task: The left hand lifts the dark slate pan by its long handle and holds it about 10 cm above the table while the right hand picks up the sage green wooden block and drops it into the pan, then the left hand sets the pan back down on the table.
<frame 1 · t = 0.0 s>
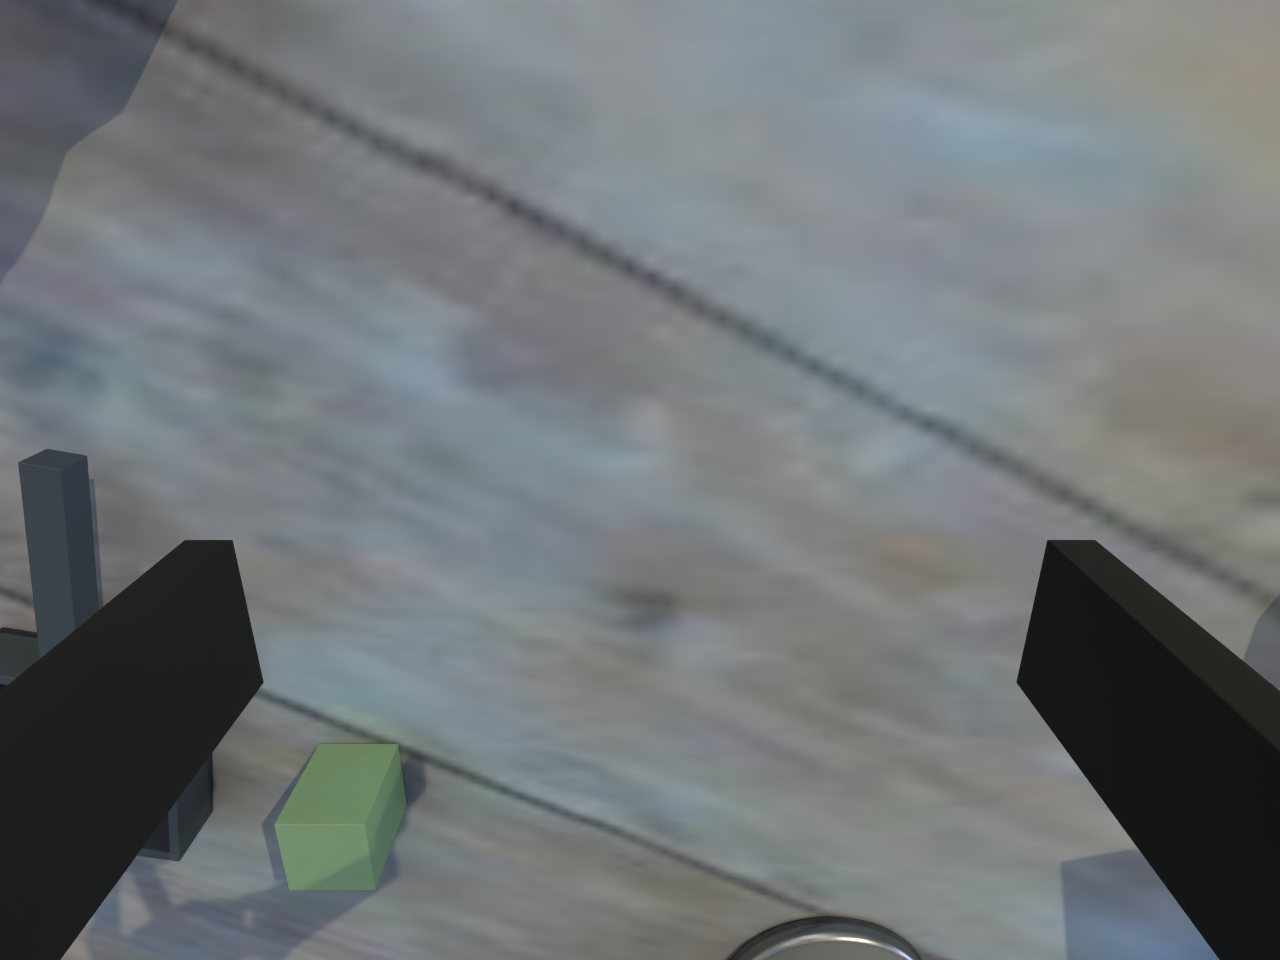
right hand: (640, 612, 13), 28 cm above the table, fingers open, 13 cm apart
block: (363, 774, 50), on the table
pan: (113, 724, 48), on the table
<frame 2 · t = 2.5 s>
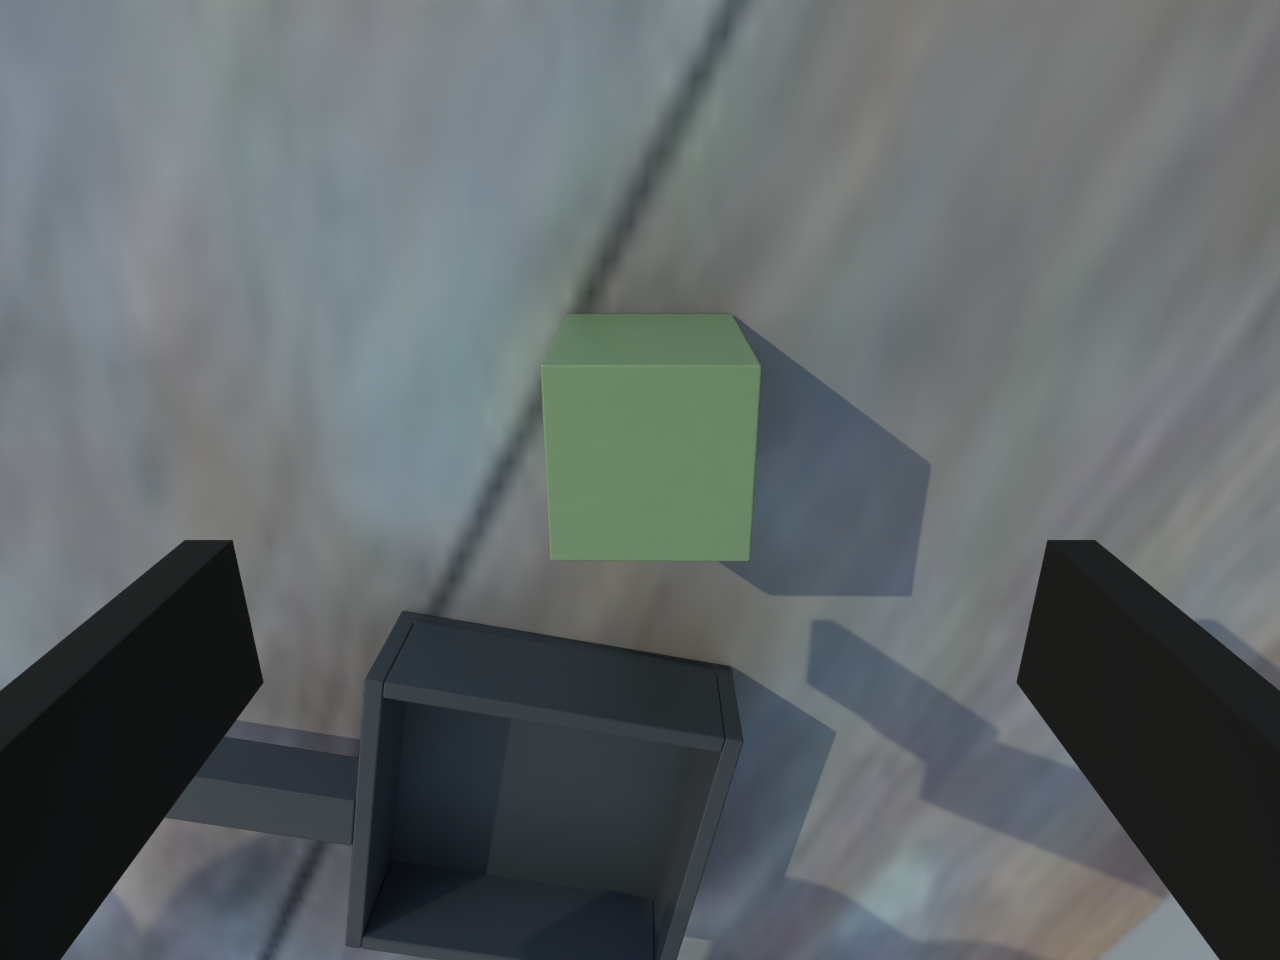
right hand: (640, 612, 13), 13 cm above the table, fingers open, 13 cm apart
block: (649, 393, 24), on the table
pan: (544, 767, 30), on the table
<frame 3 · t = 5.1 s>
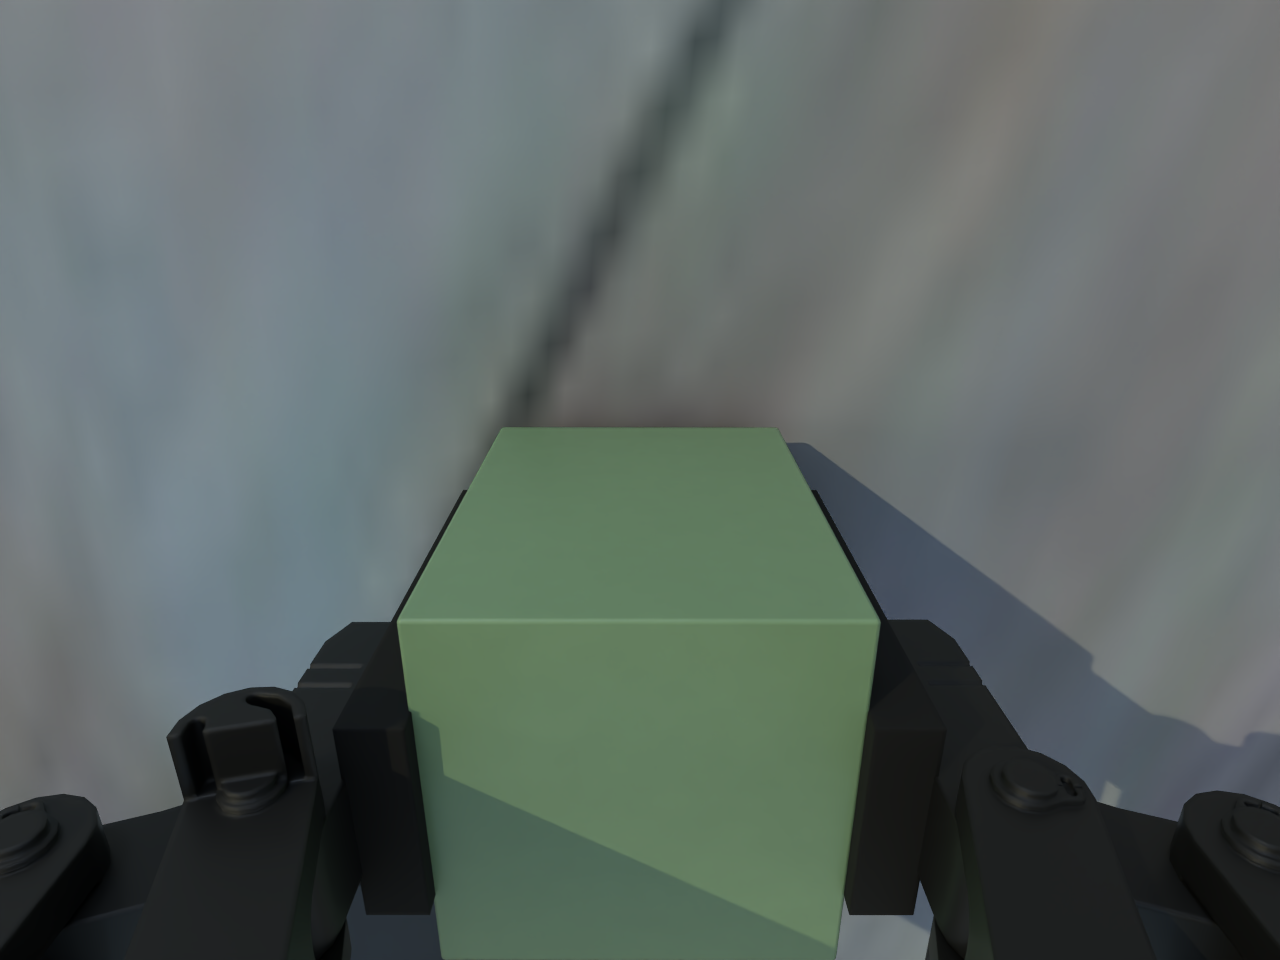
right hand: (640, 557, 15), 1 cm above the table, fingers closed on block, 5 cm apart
block: (639, 550, 15), point 1 cm above the table, touching right hand
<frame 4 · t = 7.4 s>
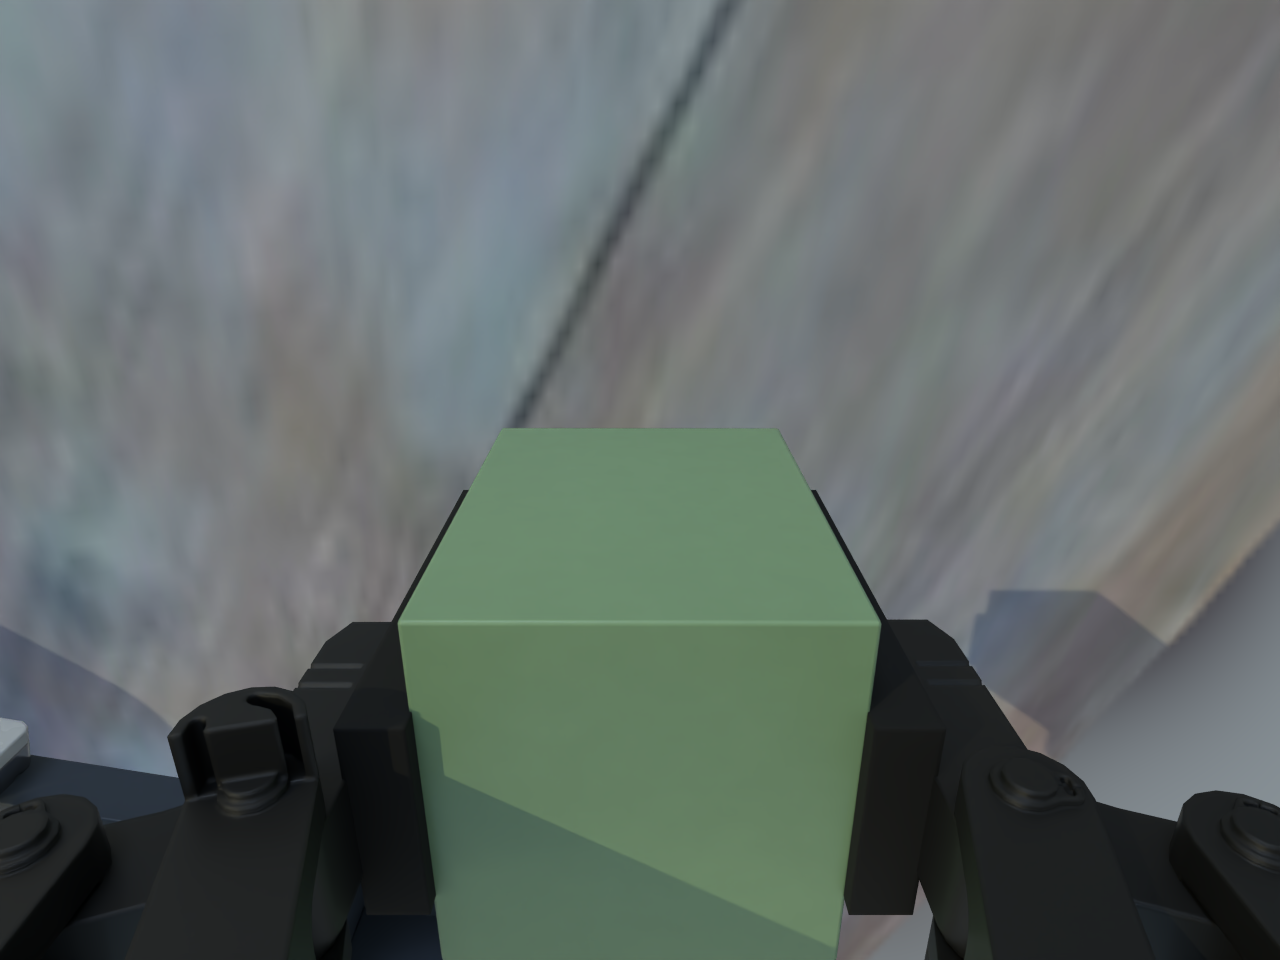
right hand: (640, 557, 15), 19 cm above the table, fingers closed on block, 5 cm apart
block: (640, 551, 15), point 18 cm above the table, touching right hand
pan: (528, 808, 28), point 10 cm above the table, touching left hand
when the right hand's fingers open (16 cm above the table, at t = 9.4 s): block drops 9 cm, resting on pan.
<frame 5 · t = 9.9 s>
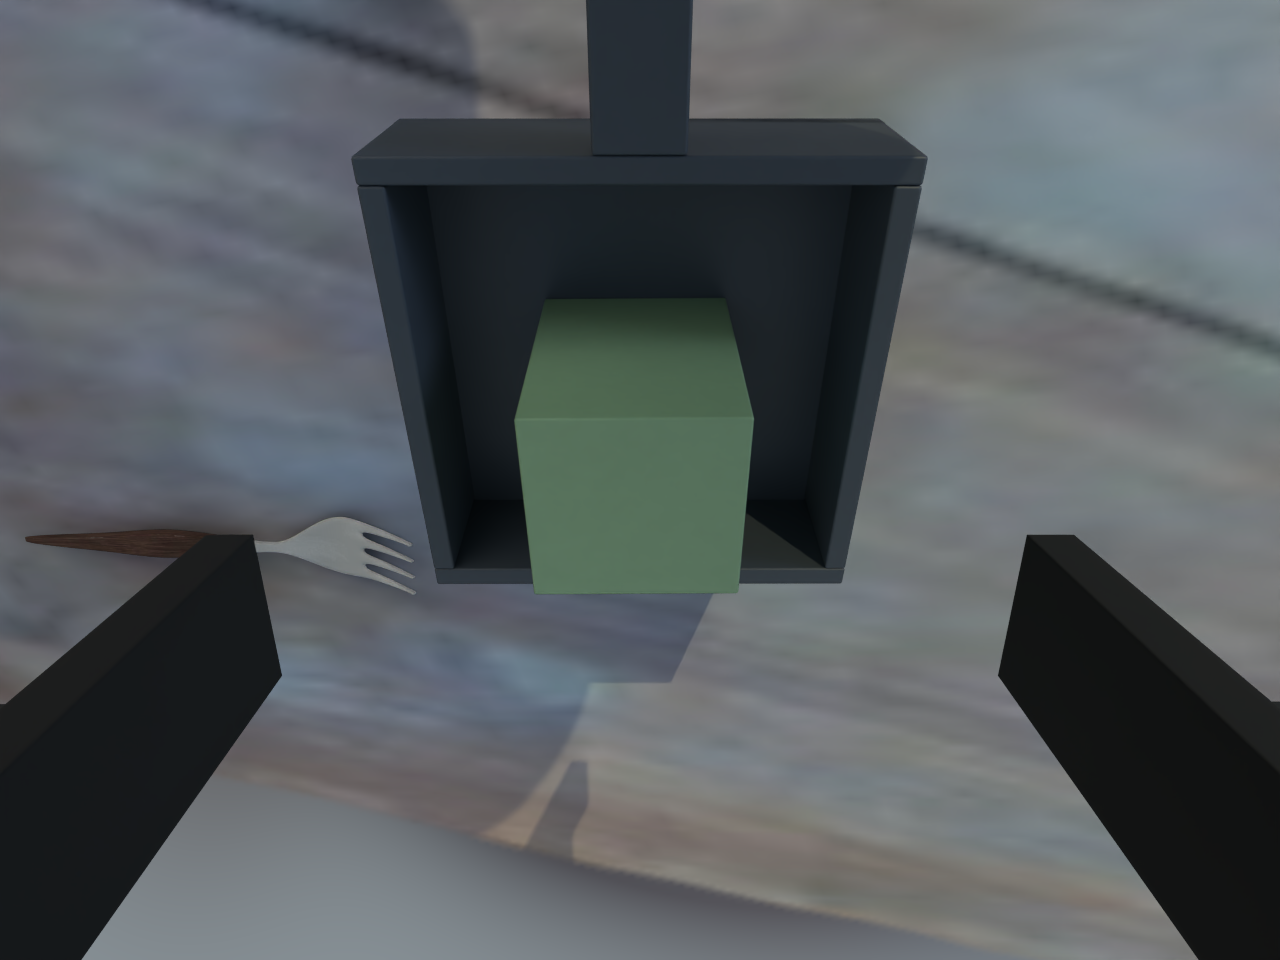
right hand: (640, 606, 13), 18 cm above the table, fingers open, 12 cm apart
block: (636, 378, 23), point 6 cm above the table, tilted 13°, touching pan
pan: (639, 340, 23), point 6 cm above the table, tilted 13°, touching block, left hand
fork: (234, 537, 32), on the table
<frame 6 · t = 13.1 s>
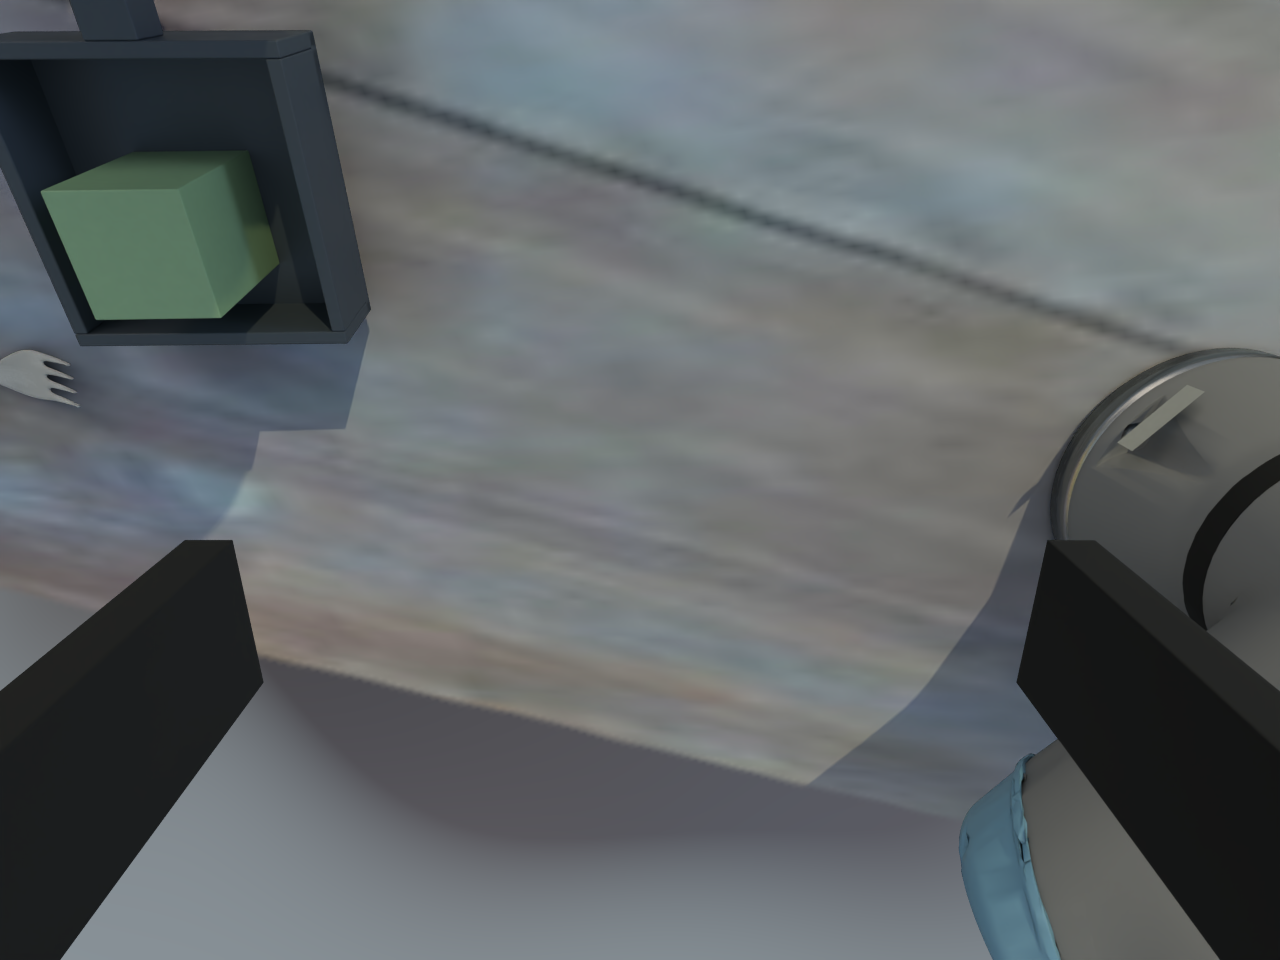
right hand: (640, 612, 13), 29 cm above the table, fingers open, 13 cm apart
block: (209, 209, 35), point 3 cm above the table, tilted 13°, touching pan
pan: (210, 184, 35), point 2 cm above the table, tilted 13°, touching block, left hand
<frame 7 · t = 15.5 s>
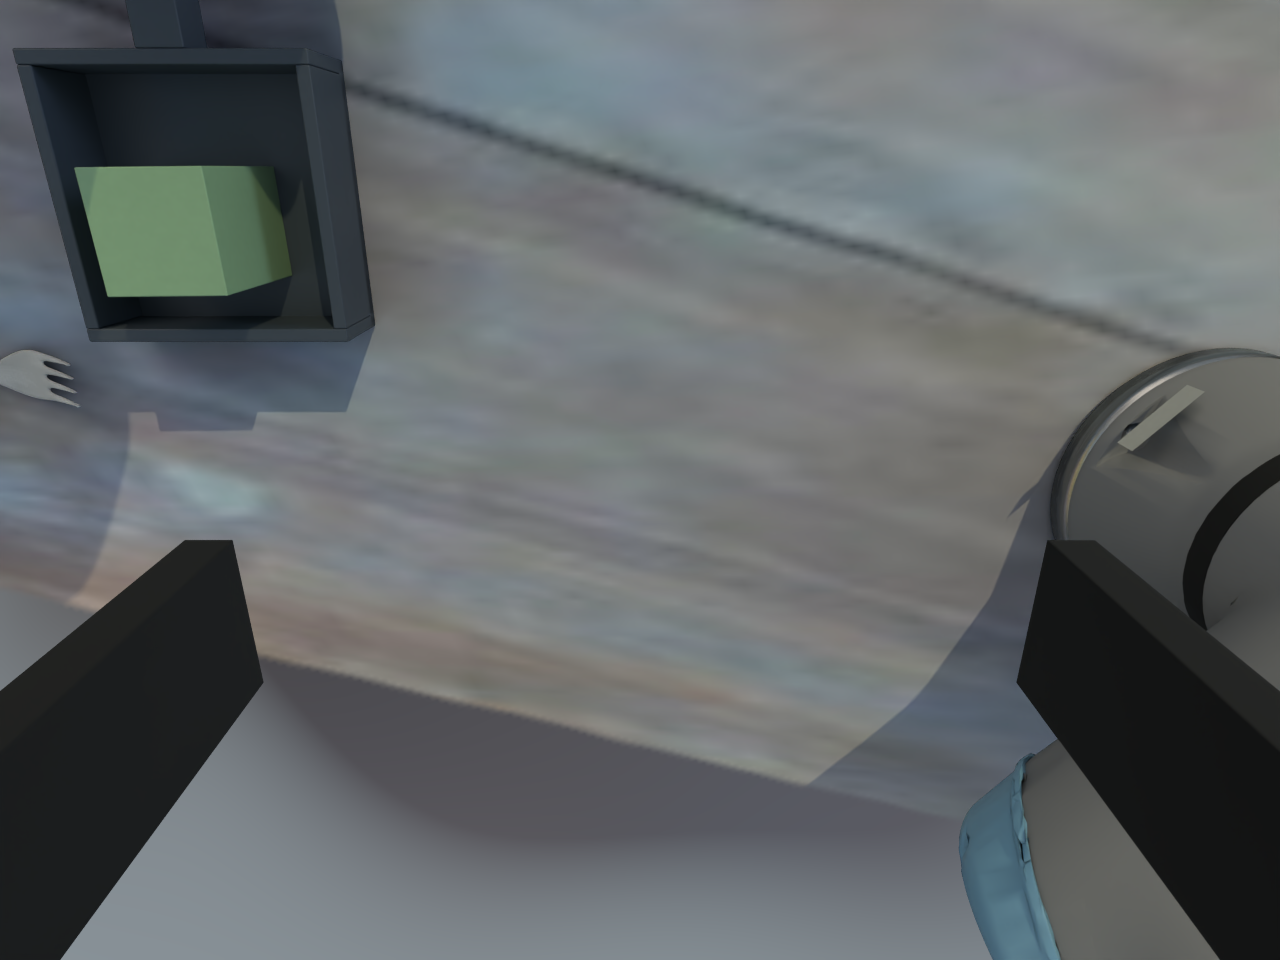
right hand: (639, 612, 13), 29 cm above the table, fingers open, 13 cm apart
block: (231, 223, 37), point 1 cm above the table, touching pan
pan: (235, 201, 37), on the table, touching block
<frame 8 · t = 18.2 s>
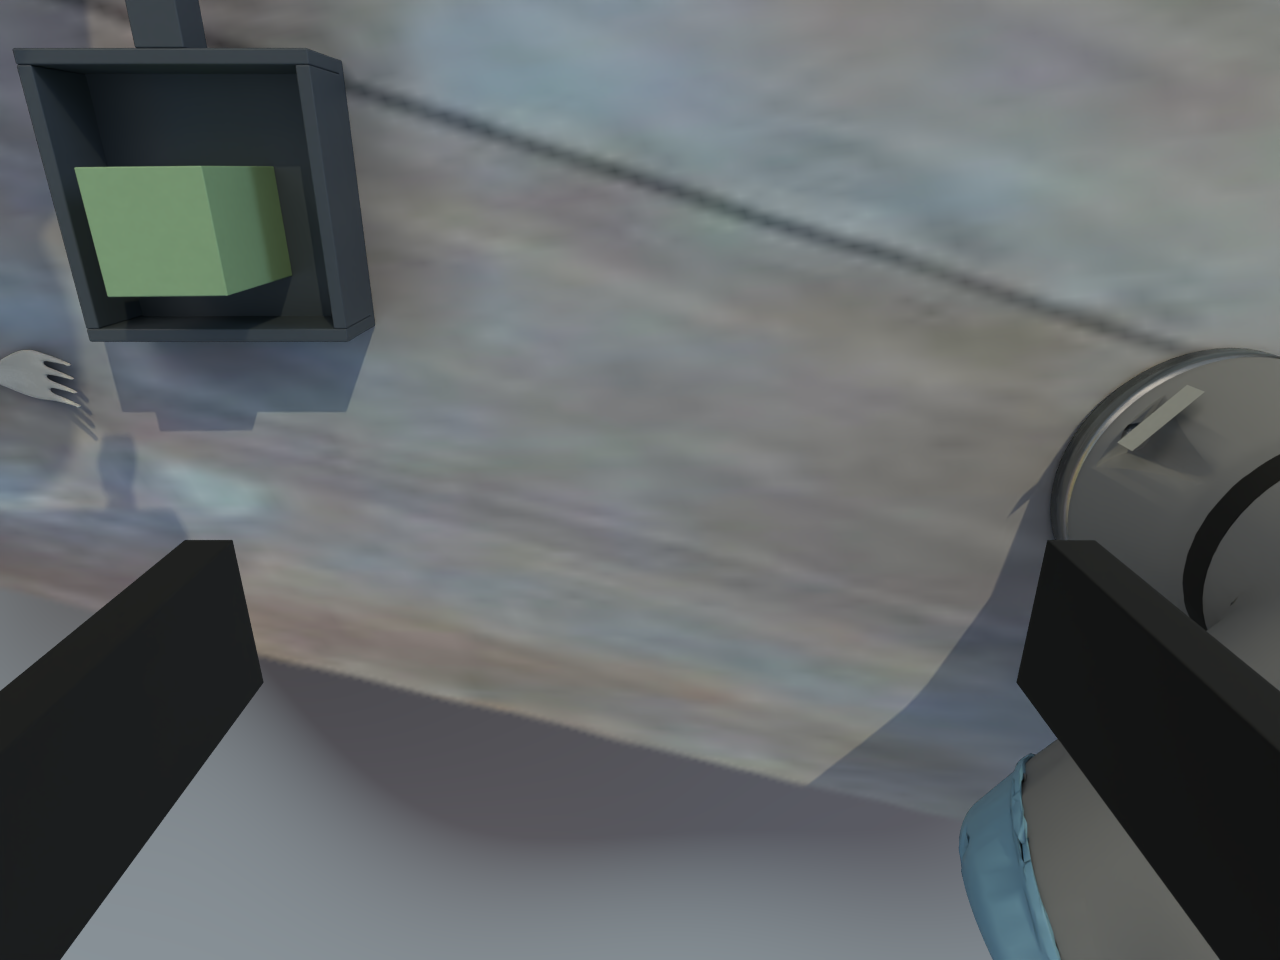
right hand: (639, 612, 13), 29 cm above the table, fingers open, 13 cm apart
block: (231, 223, 37), point 1 cm above the table, touching pan
pan: (235, 201, 37), on the table, touching block
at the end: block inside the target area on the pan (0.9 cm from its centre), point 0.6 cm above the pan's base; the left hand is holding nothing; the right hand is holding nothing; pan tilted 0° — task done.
